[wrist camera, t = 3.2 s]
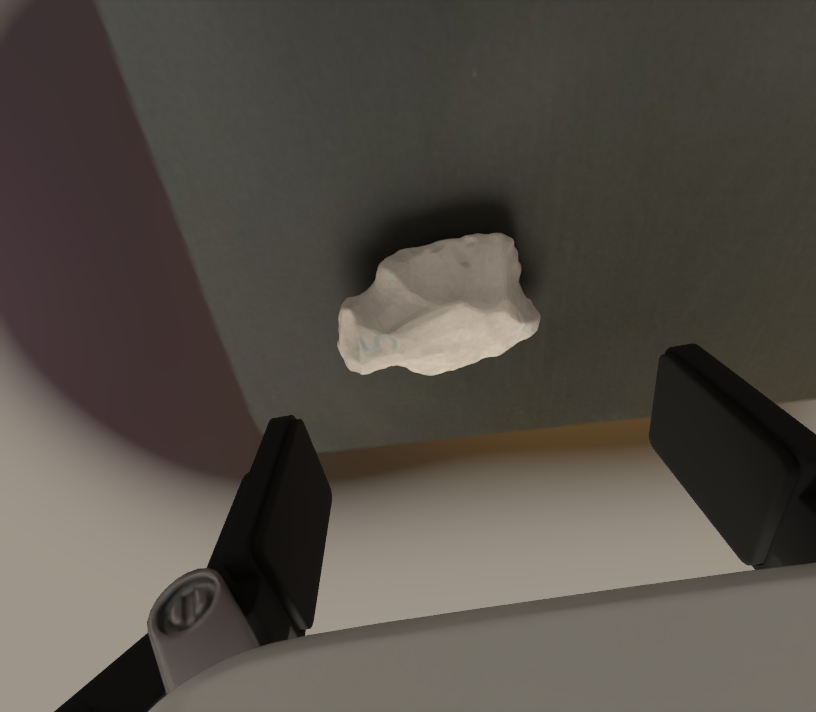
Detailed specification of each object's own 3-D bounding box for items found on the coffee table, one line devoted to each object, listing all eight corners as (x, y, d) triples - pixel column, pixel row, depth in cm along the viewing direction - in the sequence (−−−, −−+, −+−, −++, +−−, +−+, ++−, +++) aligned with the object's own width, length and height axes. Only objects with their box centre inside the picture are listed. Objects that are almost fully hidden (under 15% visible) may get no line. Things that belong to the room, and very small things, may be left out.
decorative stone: (354, 369, 20) (349, 407, 18) (321, 254, 17) (310, 279, 15) (534, 338, 20) (556, 372, 17) (531, 214, 17) (558, 233, 14)
